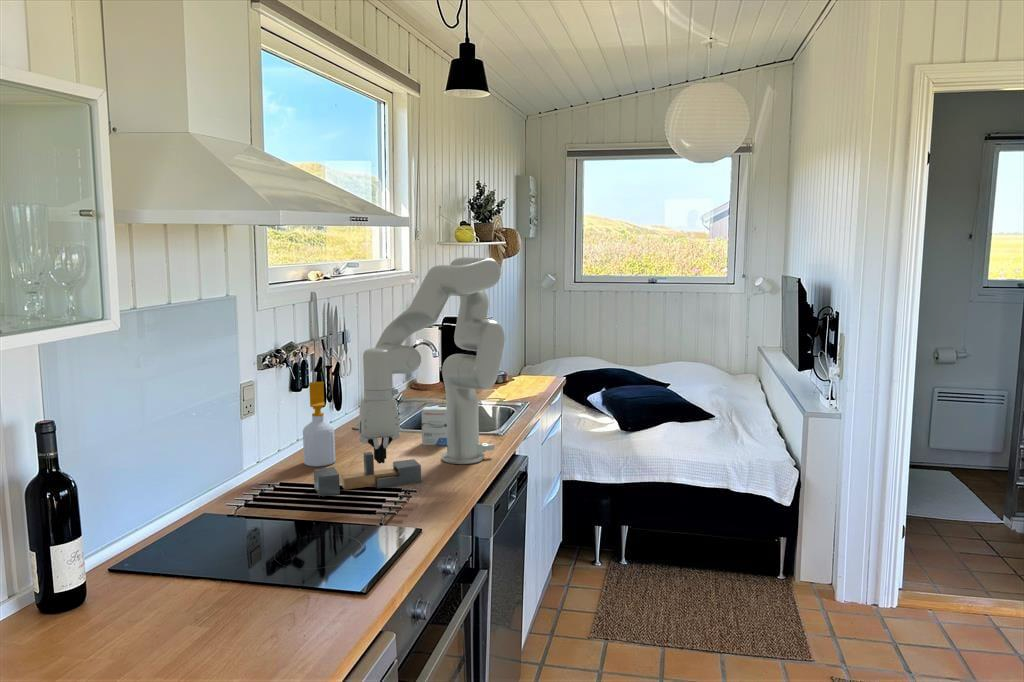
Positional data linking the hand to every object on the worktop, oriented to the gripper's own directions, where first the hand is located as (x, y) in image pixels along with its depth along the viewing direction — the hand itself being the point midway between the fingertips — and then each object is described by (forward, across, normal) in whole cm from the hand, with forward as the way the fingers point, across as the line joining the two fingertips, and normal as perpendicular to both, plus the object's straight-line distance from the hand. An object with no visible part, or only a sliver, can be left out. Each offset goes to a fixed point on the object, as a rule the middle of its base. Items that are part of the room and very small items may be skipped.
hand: (380, 461), depth 209 cm
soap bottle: (+6, +12, -28) cm, 31 cm away
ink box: (+6, -26, -34) cm, 43 cm away
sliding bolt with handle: (+6, +2, 0) cm, 6 cm away
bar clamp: (+6, +3, 0) cm, 7 cm away
